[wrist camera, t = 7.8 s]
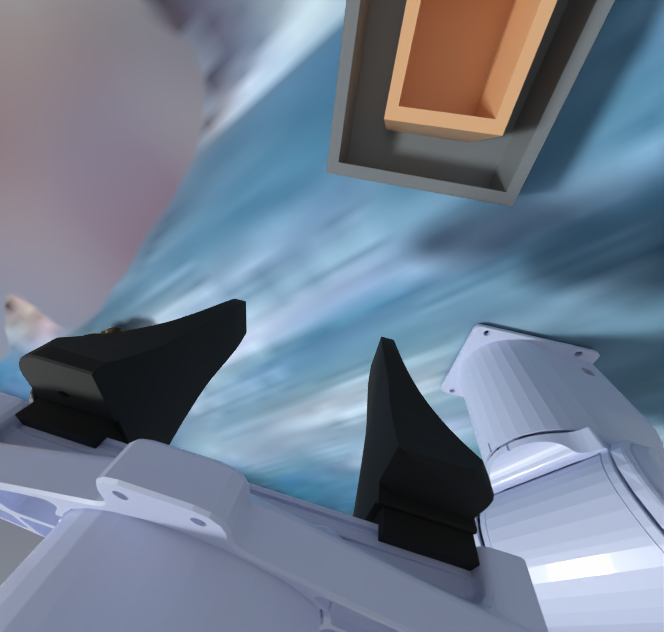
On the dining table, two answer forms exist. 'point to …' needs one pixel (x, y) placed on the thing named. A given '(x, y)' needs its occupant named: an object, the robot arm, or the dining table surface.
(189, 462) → the robot arm
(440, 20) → the small crate
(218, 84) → the dining table surface
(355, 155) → the big crate
